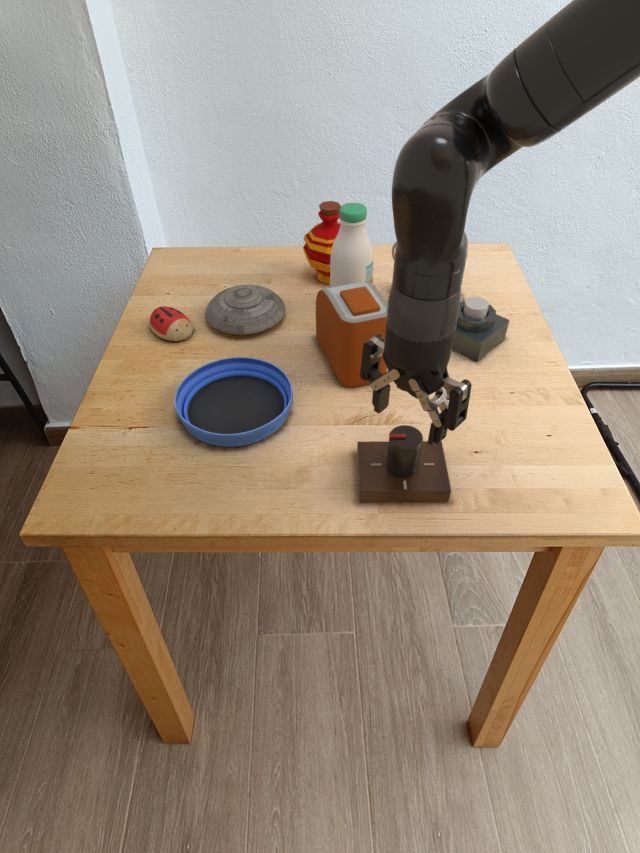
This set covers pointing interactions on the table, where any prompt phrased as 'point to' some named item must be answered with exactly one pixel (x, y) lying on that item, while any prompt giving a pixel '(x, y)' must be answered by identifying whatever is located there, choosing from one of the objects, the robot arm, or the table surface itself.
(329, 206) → the potion bottle
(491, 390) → the table surface
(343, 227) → the milk bottle
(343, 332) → the alarm clock
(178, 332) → the ladybug figurine
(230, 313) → the flying saucer
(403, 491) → the dial panel
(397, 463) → the dial
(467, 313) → the grey push button
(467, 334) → the push button base
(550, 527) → the table surface
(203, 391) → the bowl
